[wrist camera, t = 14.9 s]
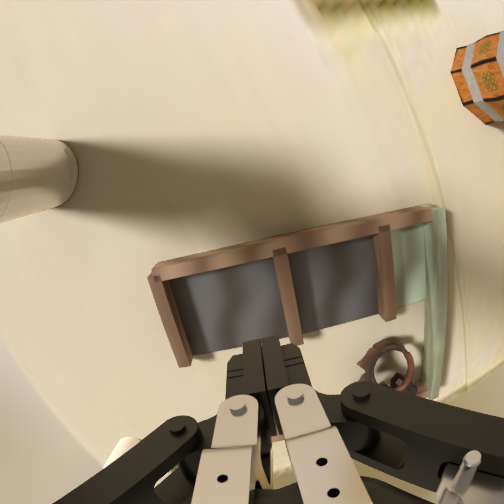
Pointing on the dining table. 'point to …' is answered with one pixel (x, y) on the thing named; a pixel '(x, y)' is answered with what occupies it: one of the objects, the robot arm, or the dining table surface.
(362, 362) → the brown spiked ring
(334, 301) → the wooden divided tray
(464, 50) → the mug
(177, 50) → the dining table surface
